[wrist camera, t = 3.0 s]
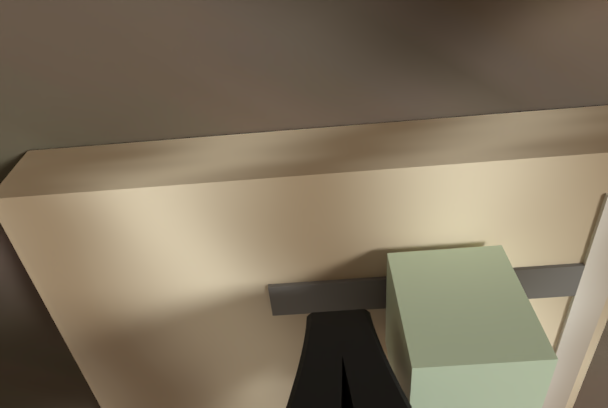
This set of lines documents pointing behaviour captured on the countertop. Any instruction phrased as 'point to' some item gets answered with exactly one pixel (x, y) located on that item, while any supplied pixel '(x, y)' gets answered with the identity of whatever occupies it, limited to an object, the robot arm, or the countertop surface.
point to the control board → (300, 242)
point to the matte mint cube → (464, 331)
